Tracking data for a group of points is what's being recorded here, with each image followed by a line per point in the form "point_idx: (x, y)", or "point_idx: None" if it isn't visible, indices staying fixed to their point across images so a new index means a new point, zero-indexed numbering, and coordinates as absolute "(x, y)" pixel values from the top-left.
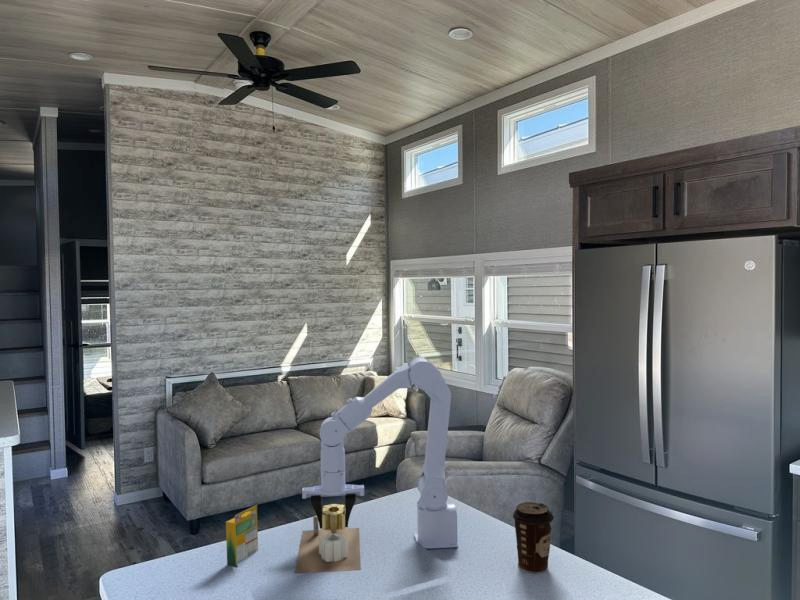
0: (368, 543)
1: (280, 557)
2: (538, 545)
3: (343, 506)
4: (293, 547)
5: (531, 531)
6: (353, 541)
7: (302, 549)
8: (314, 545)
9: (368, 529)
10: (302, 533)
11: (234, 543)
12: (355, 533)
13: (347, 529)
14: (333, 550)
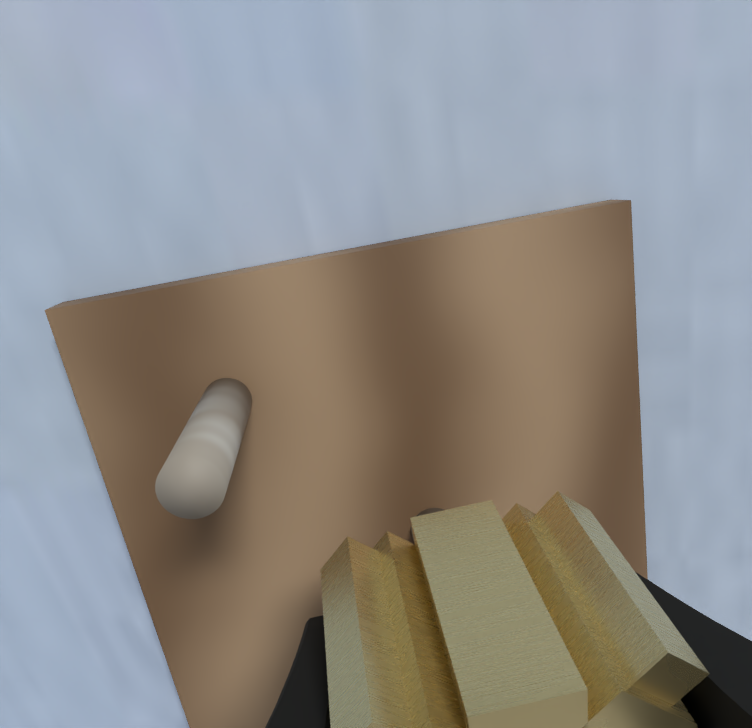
0: (693, 428)
1: (56, 709)
2: None
3: (687, 725)
4: (87, 555)
5: None
6: (593, 496)
7: (199, 668)
8: (277, 598)
9: (699, 130)
10: (72, 377)
11: None
12: (602, 339)
13: (517, 248)
14: None
